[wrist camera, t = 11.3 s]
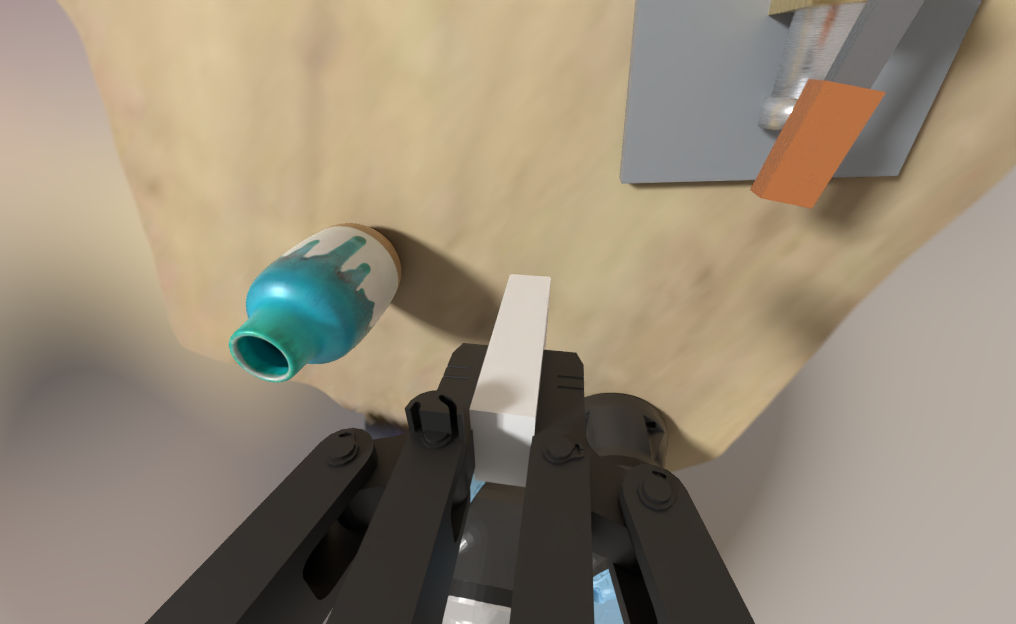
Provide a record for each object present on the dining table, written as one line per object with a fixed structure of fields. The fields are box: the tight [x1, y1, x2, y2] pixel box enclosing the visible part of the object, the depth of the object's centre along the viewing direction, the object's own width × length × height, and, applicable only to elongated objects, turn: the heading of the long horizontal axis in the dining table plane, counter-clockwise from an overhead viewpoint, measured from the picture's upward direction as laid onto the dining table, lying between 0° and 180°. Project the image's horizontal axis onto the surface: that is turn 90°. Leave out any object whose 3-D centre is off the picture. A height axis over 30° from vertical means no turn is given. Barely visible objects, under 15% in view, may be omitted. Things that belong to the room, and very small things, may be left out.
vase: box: [229, 223, 401, 382], centre depth 37 cm, size 11×11×19 cm
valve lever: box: [750, 0, 925, 208], centre depth 20 cm, size 4×16×2 cm, turn 171°
